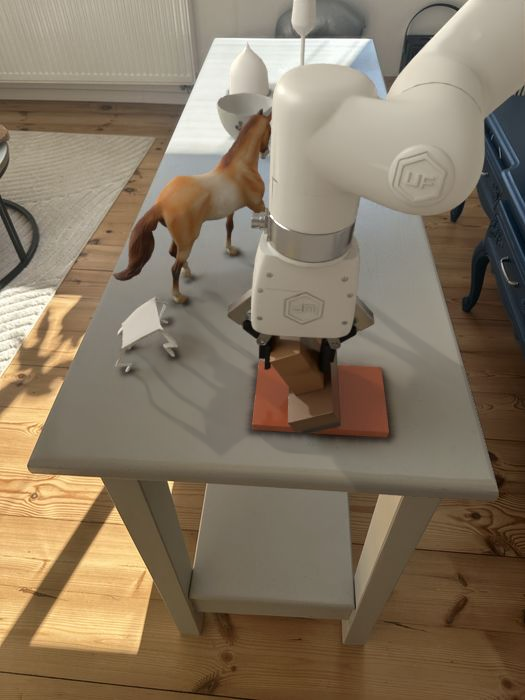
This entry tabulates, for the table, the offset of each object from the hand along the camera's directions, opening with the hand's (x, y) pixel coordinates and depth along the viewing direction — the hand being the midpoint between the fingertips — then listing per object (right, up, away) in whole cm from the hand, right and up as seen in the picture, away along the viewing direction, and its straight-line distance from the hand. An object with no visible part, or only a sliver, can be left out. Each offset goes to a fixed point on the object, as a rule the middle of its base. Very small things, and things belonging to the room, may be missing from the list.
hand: (295, 360), depth 55 cm
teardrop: (-7, +71, +76) cm, 104 cm away
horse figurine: (-14, +16, +25) cm, 32 cm away
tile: (+3, -5, +5) cm, 8 cm away
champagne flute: (+8, +81, +85) cm, 118 cm away
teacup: (-8, +51, +57) cm, 77 cm away
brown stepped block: (+3, -4, +4) cm, 6 cm away
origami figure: (-19, +2, +12) cm, 23 cm away
